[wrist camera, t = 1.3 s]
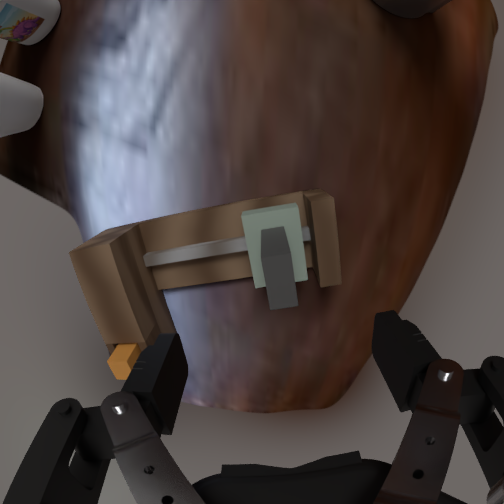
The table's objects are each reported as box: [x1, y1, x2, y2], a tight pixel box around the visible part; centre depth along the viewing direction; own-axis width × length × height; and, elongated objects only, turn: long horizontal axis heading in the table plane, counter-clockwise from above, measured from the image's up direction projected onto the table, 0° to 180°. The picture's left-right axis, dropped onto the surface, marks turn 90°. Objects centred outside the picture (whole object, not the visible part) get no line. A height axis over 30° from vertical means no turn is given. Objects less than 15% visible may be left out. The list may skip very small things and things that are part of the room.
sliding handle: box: [241, 203, 308, 310], centre depth 25 cm, size 5×7×11 cm
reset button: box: [107, 343, 141, 380], centre depth 28 cm, size 2×2×4 cm
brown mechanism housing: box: [69, 189, 342, 355], centre depth 29 cm, size 24×15×8 cm, turn 100°
